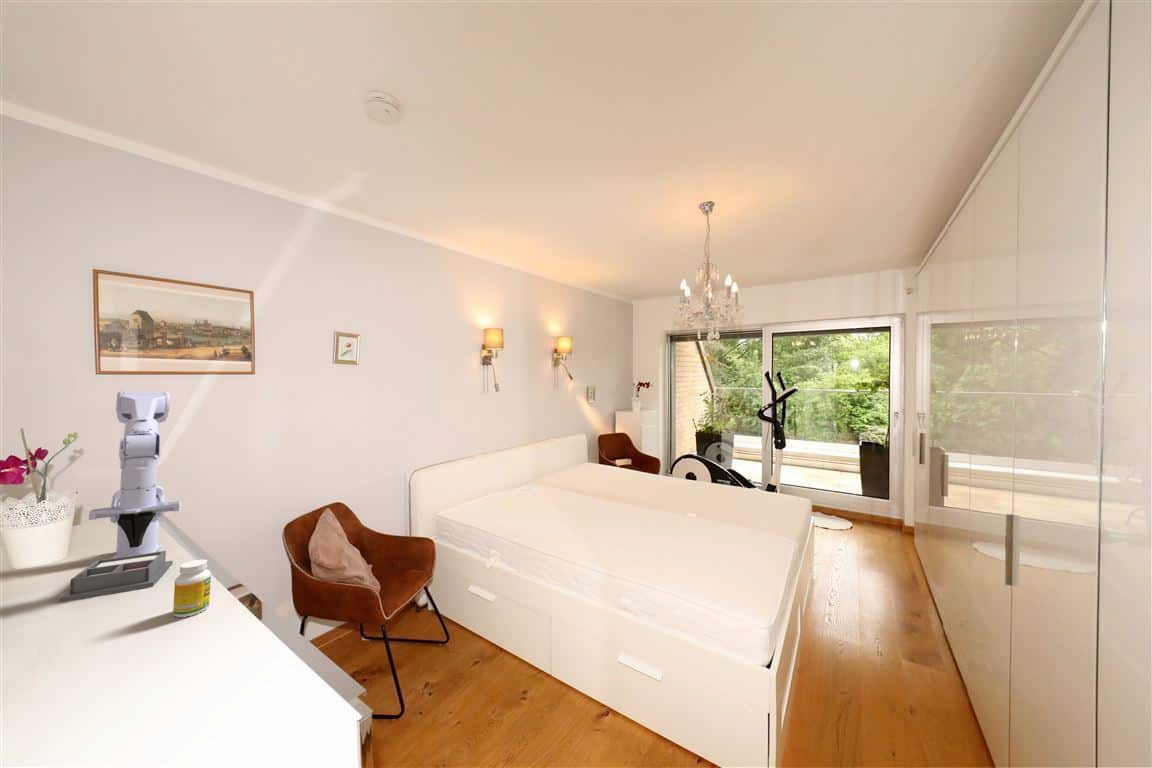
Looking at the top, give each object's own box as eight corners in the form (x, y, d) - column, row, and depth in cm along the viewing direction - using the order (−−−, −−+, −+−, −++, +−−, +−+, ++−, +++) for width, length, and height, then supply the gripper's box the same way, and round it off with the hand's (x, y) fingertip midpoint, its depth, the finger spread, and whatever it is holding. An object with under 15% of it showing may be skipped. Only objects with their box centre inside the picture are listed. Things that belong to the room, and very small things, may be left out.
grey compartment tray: (90, 576, 96) (91, 559, 96) (172, 564, 103) (173, 548, 103) (58, 602, 84) (59, 583, 84) (153, 586, 91) (154, 568, 91)
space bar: (100, 569, 95) (101, 563, 95) (157, 561, 100) (158, 555, 100) (92, 576, 92) (93, 569, 92) (152, 567, 97) (152, 560, 97)
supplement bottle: (174, 609, 82) (177, 562, 82) (210, 601, 85) (212, 555, 85) (171, 621, 78) (173, 571, 78) (208, 612, 81) (210, 564, 81)
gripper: (83, 494, 86) (79, 558, 86) (176, 487, 94) (173, 545, 93) (98, 487, 92) (95, 547, 92) (185, 481, 100) (182, 536, 99)
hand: (135, 546), depth 93 cm, fingers closed
